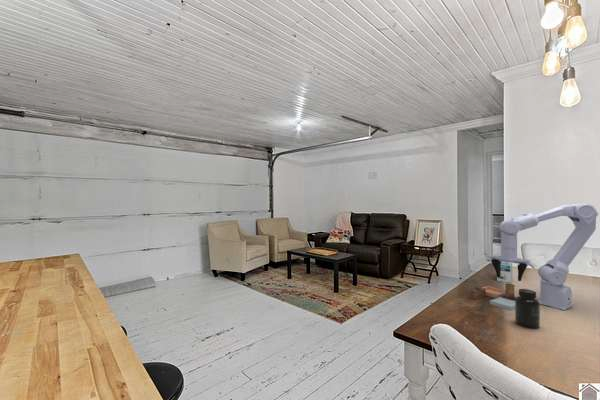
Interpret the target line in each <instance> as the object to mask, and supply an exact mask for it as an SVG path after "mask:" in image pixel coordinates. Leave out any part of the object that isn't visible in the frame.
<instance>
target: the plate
mask: <svg viewBox="0 0 600 400" xmlns="http://www.w3.org/2000/svg"><path fill="white" fill-rule="evenodd" d="M489 305H491V306H495V307H499V308H501V309H504V310H508V311H514V310H515V301H512V300H508V299H504V298H501V297H499V298H493V299H491V300H489Z"/></svg>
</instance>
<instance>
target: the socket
mask: <svg viewBox="0 0 600 400" xmlns="http://www.w3.org/2000/svg"><path fill="white" fill-rule="evenodd" d="M499 297H501V298H504V299H506V298H505V294H504V295H501V296H497V298H499ZM516 297H517V296H516V295H514V300H512V301H515V299H516ZM508 300H510V299H508Z"/></svg>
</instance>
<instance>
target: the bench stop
mask: <svg viewBox="0 0 600 400" xmlns="http://www.w3.org/2000/svg"><path fill="white" fill-rule="evenodd" d="M484 297H486V295H485V289H484V288H483V287H480V286H475V288H474V289H471V290H470V299H472V300H478V299H481V298H484Z"/></svg>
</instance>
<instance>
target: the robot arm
mask: <svg viewBox="0 0 600 400" xmlns="http://www.w3.org/2000/svg"><path fill="white" fill-rule="evenodd" d="M598 215H599V212H598V211H597V209H596V208H595V206H594V205H592V204H590V203H585V202H583V203H576V202H571V203H569V204H562V205H560V206H556V207H554V208H550V209H548V210H545V211H541V212H539V213H537V214H533V213H527V212H525V213H522V215H521V216H517V217H510V220H509V219H506V220H503V221H501V222H500V223H499V226H498V229H499V230H500V231H501V232H500V233H501V236H500V255H495V254H490V255H489V256H488V257H489V259H488V260H490V261H491V265H492V266H493V268H494V271H495V273H496V278H497V277H500V275H501V273H500V266H501V261H504V262H511V263H512V264H517V272H518V273H517V282H521V281H522V279H523V274H524V272H525V271H526V269H527V267H528V266H531V260H530V259H524V258H521V257H520V258H519V257H518V233H519V232H521V231H525V230H528V229H531V228H534V227H537V226H538V225H539V224H540V223H541V222H544V221H547V220H548V221H549V220H551V219H555V218H559V217H568V219H570V220H571V221H572V222H573V224H574V227H575V228H574V229H573V231H572V232H571V234H570V235H569V236H568V237H567V238H566V240H565V241H564V243H563V244H562V246H561V247H559V250H558V252H556V254H555V255H554V256H553V258H551V259H550V260H548V261H547V262H545V264H543V265H541V266H540V267H539V268H538V270H537V273H538V275H539V276H538V277H540V278H541V279H540V280H539V281H540V284H539V285H540V286H539V287H540V289H539V290H540V292H539V294H540V295H539V296H540V297H539V300H538V301H539V303H540V305H544V306H548V307H550V308H555V309H559V310H563V311H566V310H569V308H572V307H573V305H572V301H573V300H572V295H573V294H572V288H571V287H570V286H566V285H565V283H566V280H567V277H568V276H567V275H568V274H569V272H570V269H569V265H571V263H572V262H573V260H575V258H576V257H577V255H578V254H579V252H580V251H581V250H582V249H583V247H584V246H585V245H586V243H587V242H588V241H589V239H590V238H591V237H592V235H593V234H594V233H595V232H596V229H597V217H598Z"/></svg>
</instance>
